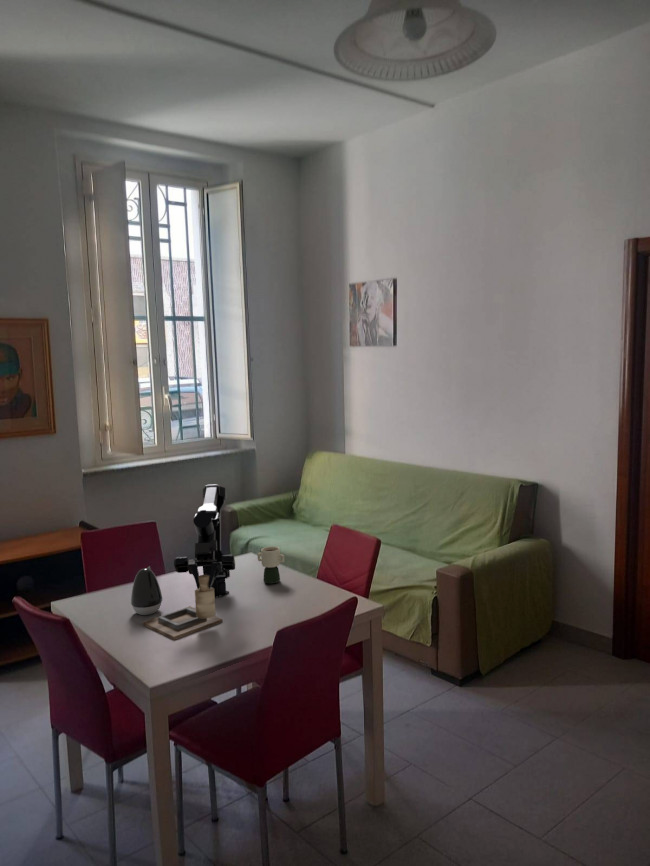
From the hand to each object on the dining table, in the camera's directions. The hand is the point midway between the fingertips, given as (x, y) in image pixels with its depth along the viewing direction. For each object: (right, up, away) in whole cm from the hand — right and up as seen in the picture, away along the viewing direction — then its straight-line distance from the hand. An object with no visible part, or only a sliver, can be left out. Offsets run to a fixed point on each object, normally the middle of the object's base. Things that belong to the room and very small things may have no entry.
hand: (203, 588), depth 205 cm
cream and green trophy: (+18, -9, +45) cm, 49 cm away
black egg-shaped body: (-22, -13, +19) cm, 32 cm away
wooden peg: (0, -9, +2) cm, 9 cm away
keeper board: (-8, -13, +7) cm, 17 cm away
